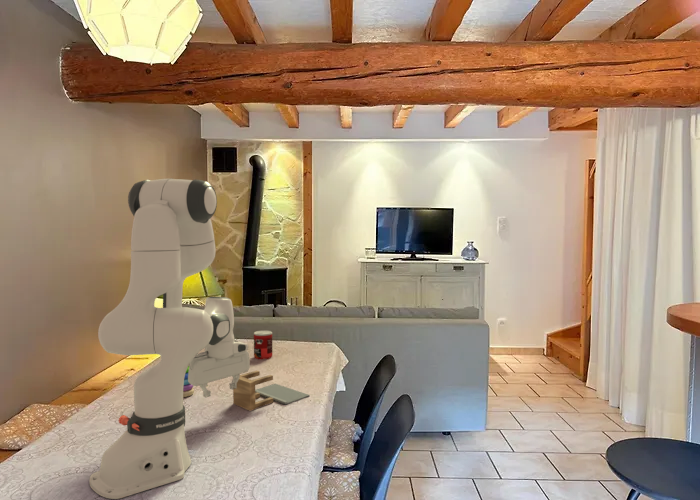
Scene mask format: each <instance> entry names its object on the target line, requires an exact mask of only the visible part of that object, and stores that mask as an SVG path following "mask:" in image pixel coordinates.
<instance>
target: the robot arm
mask: <svg viewBox="0 0 700 500" xmlns="http://www.w3.org/2000/svg"><path fill="white" fill-rule="evenodd" d="M127 203H128V207H129V210H130V212H131V214H132V215H133V221H132V227H131V228H132V229H131V237H130V276H129V284H128V288H127V291H126V293H125V295H124V296H123V298H122V300H121V301H120V302H119V303H118V304H117V306H115V308H113V309H112V310H111V311H110V312H108V313H107V314H106V315H105V316H104V317H103V318H102V320H101V322H100V323H99V327H98V330H97V331H98V332H97V334H98V336H97V337H98V338H97V339H98V340H99V344H100V346H101V347H102V349H103V350H104V351H105V352H107V353H108V354H114V355H122V356H141V355H142V356H143V355H158V356H160V361H159V362H157V363H155V365H153V366H151V367H149V368H147V369H144V371H142V372H141V373H140V374H139V375H138V376H137V377H136V378H135V381H134V383H133V397H134V398H133V403H134V406H133V407H134V409H133V410H134V411H133V412H132V415H131V416H130V417H128V416H127V415H126V414H124V415H120V417H118V419H117V420H118V423H119V424H121V425H122V426H125V427H126V430H125V431H124V432H123V433H122V435H120V437H118V438H117V439H116V440H115V441H114V442H113V443H112V444H111V445H110V446H109V447H108V448H107V449H106V450H105V451H104V452H103V455H102V456H101V461H100V467H99V470H97V471H96V472H93V473H92V474H91V475H90V476H89V482H88V483H89V484H88V485H89V487H90V488H91V489H92V490H93V492H94V493H96V494H97V495H99V496H101V497H103V498H105V499H111V500H120V499H122V498H126V497H129V496H132V495H135V494H138V493H142V492H145V491H148V490H150V489H155V488H157V487H160V486H163V485H167V484H171V483H174V482H176V481H181V480H182V479H184V477H185V475H186V471H187V470H188V469H189V468H190V466H191V464H192V458H191V455H190V453H189V449H188V445H187V438H186V433H185V427H186V406H185V405H184V397H183V386H184V377H185V373H186V370H187V368H188V366H189V372H188V382H189V383H190V384H191V385H193V387H198V386H199V388H200V390H202V394H203V395H202V396H203V397H204V398H210V397H211V393H212V391H211V390H209V389H207V387H208V383H214V382H216V381H220V380H223V379H226V378H230V377H232V381H231V382H229V389H230V390H232V391H233V389H236V388H237V382H238V380H239V378H240V375H242V374H246V373H249V370H250V368H251V367H250V366H251V364H250V363H251V362H250V361H251V359H250V353H249V351H248V350H249V345H248V343H245V342H242V341H238V340H235V335H234V326H235V316H234V313H235V312H234V307H233V302H232V299H231V298H229V297H226V296H209V297H207V298H206V300H205V304H204V309H201V308H200V309H199V308H195V307H187V306H183V285H184V281H185V280H186V279H187V278H188V277H191V276H194V275H197V274H198V273H200V272H203V271H205V270H206V269H208V268H209V267H210V266H211V264H212V263H213V262H214V260H215V258H216V241H215V232H214V229H213V228H214V227H213V223H212V217H213V216H214V215H215V212H216V210H217V206H218V197H217V192H216V189H215V188H214V187H213V186H212V185H211V184H210V183H209V182H208V181H206V180H203V179H201V180H200V179H193V180H192V179H181V178H179V179H178V178H177V179H175V178H161V179H153V180H152V179H151V180H150V179H145V180H141V181H138V182H136V183H134V184H133V185H132V186H131V188H130V190H129V192H128V196H127ZM160 296H162V307H156V306H155V301H156V299H157V298H158V297H160ZM203 350H204V351H203ZM201 351H203V352H201Z"/></svg>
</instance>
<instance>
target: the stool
mask: <svg viewBox="0 0 700 500" xmlns="http://www.w3.org/2000/svg"><path fill="white" fill-rule="evenodd" d="M260 372H261V371H259V370H253V371H250V372H245V373H242V374H240V378H239V380H238V382H237V388H236V389H233V390H232V395H233V397H232V398H233V400H232V401H233V402H232V403H233V405H235V406H237V407H239V408H240V407H241V408H243V409H244V410H247V411H250V412H251V411H253V410H256V409H258V408H261V407H264V406H267V405H269V404H273V403H274V401H273V398H271V397H270V398H265V399H261V400H258V401H256V399H259V398H261V396H260V393H255V390H256V386H257V385H260V384H264V383H267V382H271V381H273V380H274V375H272V374H268V375H265V376H262V377H259V376H260V375H261V374H260ZM255 377H256V378H255ZM257 377H258V378H257ZM253 378H255V379H253Z"/></svg>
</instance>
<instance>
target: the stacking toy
mask: <svg viewBox="0 0 700 500" xmlns="http://www.w3.org/2000/svg"><path fill="white" fill-rule="evenodd" d="M188 372H189V366H188V368H187V370H186V373H185V377H184V386H183V398H187V397H190V396H192V395H193V394H195V389H194V386H193V385H191V384H190V383H189V382H188Z"/></svg>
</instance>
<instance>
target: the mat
mask: <svg viewBox="0 0 700 500" xmlns="http://www.w3.org/2000/svg"><path fill="white" fill-rule="evenodd" d="M255 393H260V397H262V398H265V399H267V398H270V397H271V398H273V402H275V403H278V404H281V405H284V406H287V405H289V404H292V403H294V402H295V403H296V402H298V401H300V400H303V399H306V398H309V397H310V396H311V395H310V394H307V393H304V392H302V391H298V390H295V389H293V388H290V387H287V386H284V385H281V384H278V383H273V384H269V385H266V386H263V387H260V388H255Z"/></svg>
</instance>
